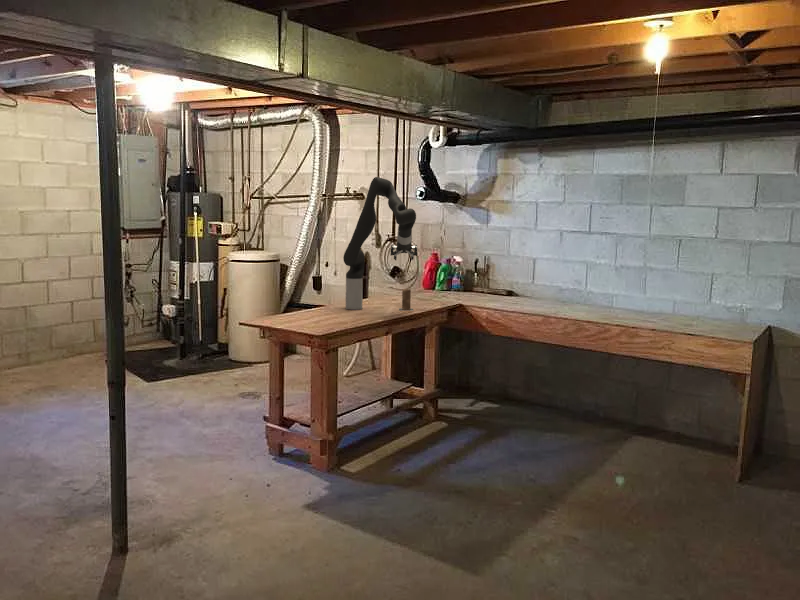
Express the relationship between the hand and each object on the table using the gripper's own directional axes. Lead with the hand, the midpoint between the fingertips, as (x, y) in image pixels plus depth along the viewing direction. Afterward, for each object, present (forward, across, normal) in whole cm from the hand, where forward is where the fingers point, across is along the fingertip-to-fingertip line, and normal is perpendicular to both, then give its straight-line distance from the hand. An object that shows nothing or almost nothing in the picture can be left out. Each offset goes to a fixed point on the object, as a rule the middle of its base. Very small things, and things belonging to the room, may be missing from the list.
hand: (403, 259), depth 360 cm
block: (+26, -2, +14) cm, 30 cm away
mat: (+26, -2, +14) cm, 30 cm away
